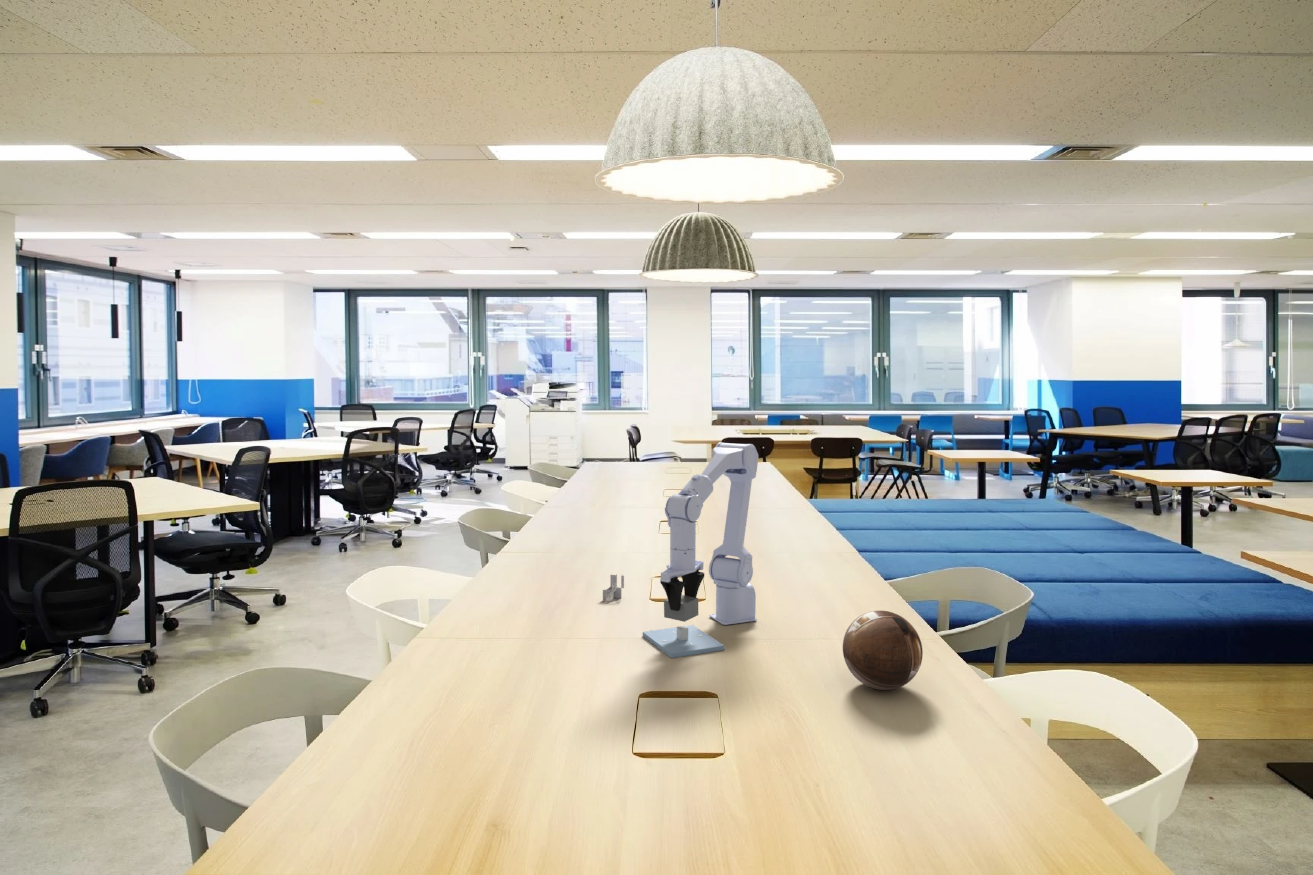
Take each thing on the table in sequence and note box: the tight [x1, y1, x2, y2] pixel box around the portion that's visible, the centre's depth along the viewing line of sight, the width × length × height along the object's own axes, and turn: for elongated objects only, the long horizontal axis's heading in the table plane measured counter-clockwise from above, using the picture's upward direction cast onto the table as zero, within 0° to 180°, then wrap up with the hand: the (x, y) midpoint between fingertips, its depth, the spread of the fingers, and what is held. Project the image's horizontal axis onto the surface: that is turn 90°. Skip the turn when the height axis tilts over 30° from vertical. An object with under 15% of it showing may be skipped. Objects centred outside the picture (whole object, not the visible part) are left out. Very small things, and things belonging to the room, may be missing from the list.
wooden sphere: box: [842, 610, 924, 691], centre depth 157 cm, size 15×15×15 cm
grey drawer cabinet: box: [663, 594, 699, 623], centre depth 183 cm, size 6×6×4 cm
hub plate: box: [642, 624, 725, 659], centre depth 183 cm, size 13×16×4 cm
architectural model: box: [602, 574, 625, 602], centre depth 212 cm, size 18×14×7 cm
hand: (682, 606), depth 182 cm, fingers closed on grey drawer cabinet, 6 cm apart
